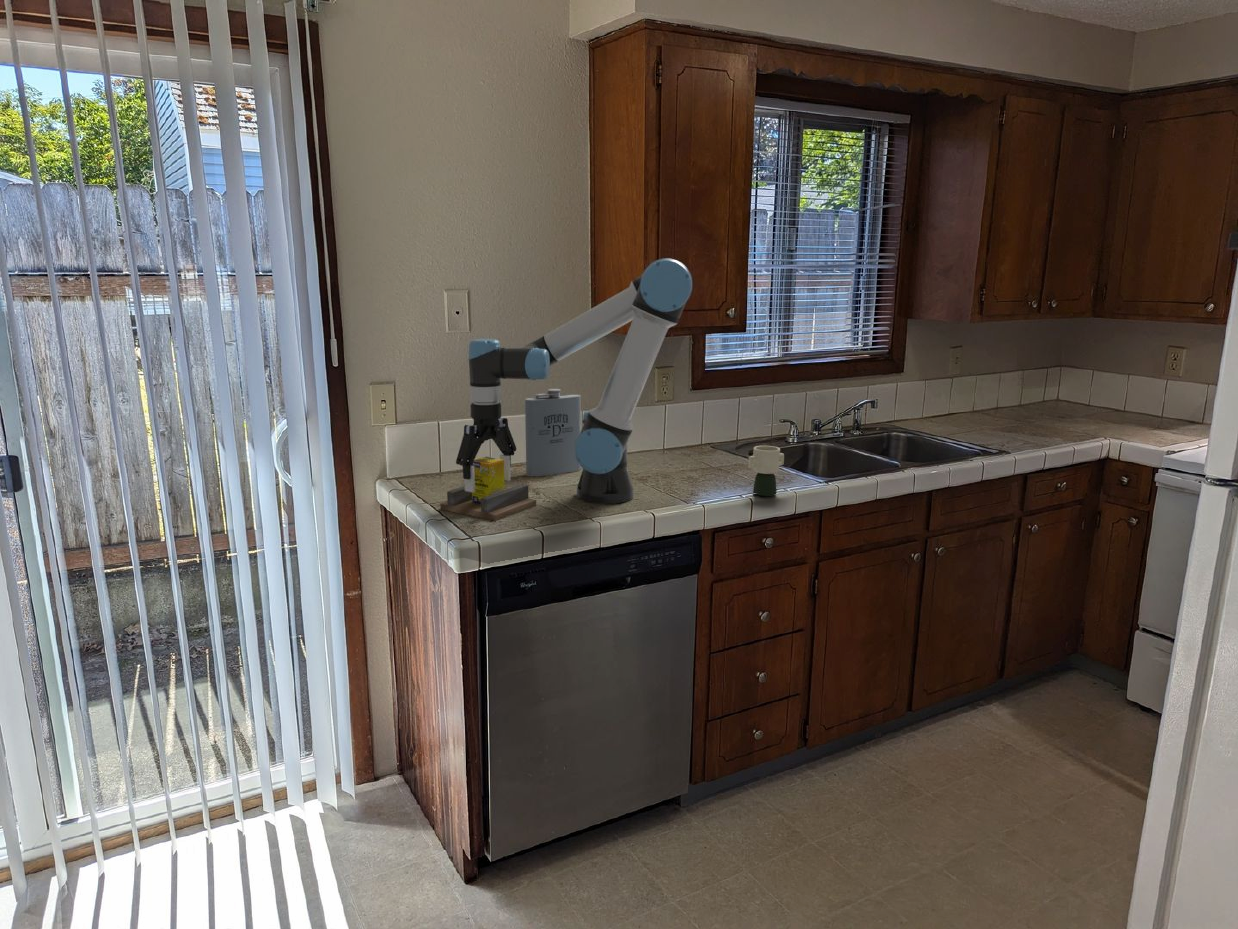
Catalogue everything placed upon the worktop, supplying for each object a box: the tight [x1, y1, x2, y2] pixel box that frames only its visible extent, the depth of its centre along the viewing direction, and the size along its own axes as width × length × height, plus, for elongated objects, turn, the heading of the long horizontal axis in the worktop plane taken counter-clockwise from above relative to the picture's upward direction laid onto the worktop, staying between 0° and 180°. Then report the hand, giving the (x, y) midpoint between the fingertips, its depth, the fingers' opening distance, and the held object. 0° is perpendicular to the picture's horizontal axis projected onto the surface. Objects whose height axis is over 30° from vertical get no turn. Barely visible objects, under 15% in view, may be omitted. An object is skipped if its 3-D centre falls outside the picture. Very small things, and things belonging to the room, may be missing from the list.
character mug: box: [748, 445, 785, 497], centre depth 230 cm, size 11×7×13 cm, turn 112°
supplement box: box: [472, 456, 506, 504], centre depth 217 cm, size 6×6×11 cm
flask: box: [524, 388, 582, 477], centre depth 252 cm, size 17×5×25 cm, turn 121°
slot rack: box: [439, 483, 537, 522], centre depth 218 cm, size 18×16×5 cm
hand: (488, 485), depth 217 cm, fingers open, 13 cm apart
